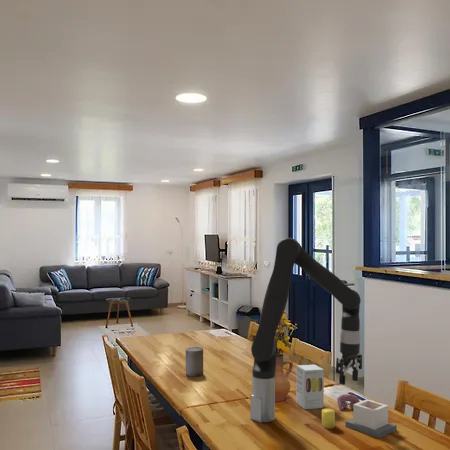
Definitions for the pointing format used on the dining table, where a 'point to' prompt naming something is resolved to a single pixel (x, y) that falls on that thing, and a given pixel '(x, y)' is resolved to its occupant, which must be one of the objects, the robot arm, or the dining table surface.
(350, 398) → the video game controller
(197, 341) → the dining table surface
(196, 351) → the pillar candle
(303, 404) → the supplement box
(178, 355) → the dining table surface
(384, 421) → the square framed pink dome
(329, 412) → the cap
